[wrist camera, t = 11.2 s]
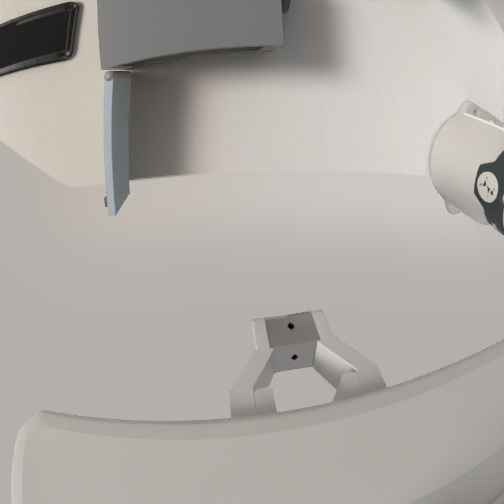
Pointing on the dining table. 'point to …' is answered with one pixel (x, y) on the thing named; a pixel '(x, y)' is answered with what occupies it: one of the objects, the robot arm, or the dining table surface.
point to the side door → (116, 138)
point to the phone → (38, 38)
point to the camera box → (185, 29)
